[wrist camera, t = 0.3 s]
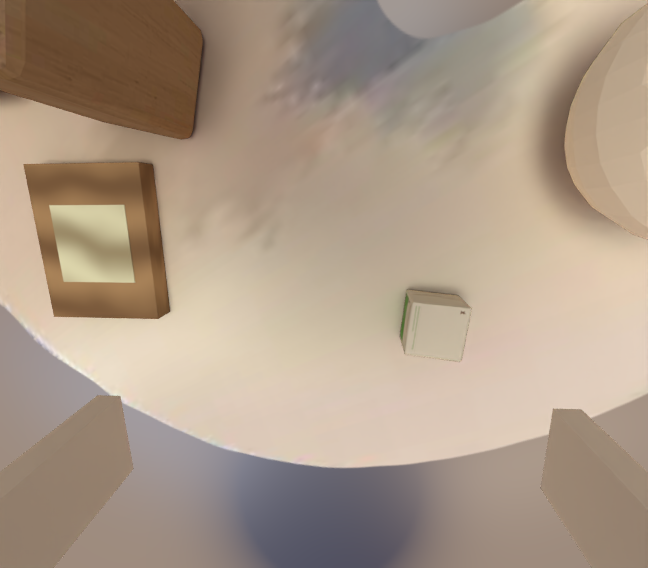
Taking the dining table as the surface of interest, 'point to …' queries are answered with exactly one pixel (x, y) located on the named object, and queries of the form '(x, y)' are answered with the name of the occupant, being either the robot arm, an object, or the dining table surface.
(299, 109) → the dining table surface
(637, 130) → the pitcher
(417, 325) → the small box
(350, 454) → the dining table surface
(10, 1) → the wooden block
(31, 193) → the board
